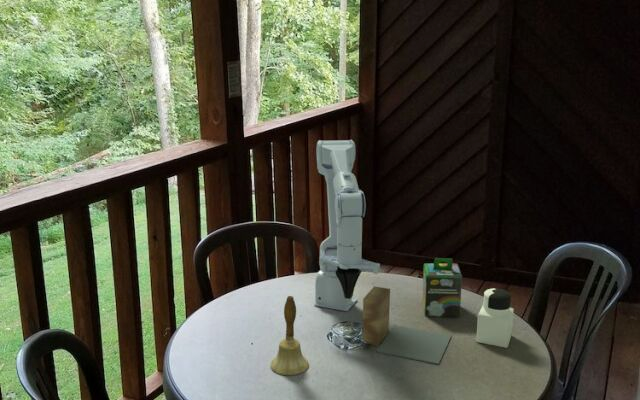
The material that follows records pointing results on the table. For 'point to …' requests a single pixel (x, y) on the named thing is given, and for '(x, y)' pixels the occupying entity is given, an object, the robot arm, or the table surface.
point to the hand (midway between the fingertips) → (348, 297)
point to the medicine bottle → (495, 318)
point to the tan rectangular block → (376, 315)
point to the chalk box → (442, 288)
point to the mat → (415, 344)
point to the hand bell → (289, 346)
